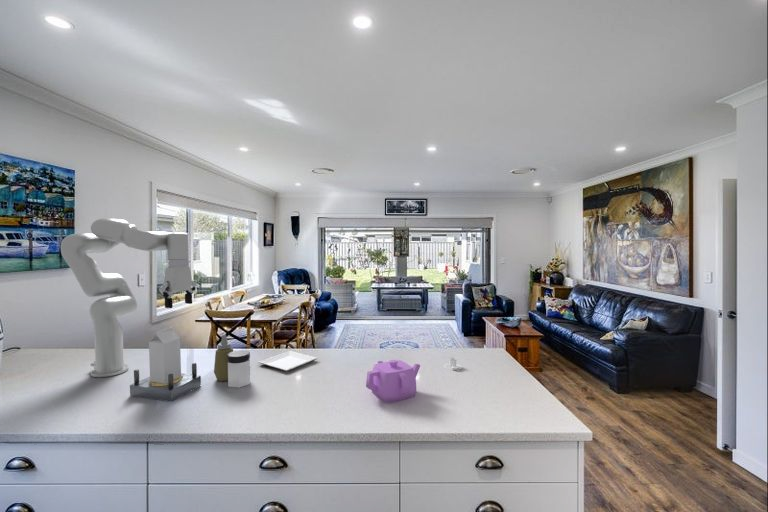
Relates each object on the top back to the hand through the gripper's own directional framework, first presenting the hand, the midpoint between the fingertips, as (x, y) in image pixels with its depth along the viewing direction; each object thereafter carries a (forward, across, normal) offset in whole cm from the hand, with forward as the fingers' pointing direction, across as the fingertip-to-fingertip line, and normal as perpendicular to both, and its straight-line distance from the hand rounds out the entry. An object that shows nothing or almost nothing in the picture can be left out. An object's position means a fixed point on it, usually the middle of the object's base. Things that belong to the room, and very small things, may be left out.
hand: (178, 305), depth 148 cm
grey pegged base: (+29, +12, +6) cm, 32 cm away
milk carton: (+25, +12, +6) cm, 29 cm away
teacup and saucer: (+28, -43, +104) cm, 116 cm away
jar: (+29, -2, +28) cm, 40 cm away
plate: (+29, -27, +34) cm, 52 cm away
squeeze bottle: (+29, -4, +19) cm, 35 cm away
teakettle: (+28, -12, +88) cm, 93 cm away
